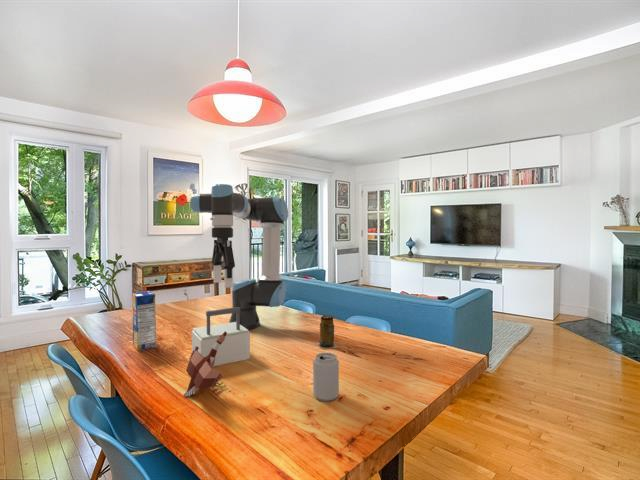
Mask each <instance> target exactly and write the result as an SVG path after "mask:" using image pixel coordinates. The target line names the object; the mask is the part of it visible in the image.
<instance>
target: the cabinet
mask: <svg viewBox="0 0 640 480" xmlns="http://www.w3.org/2000/svg"><path fill="white" fill-rule="evenodd" d="M218 338H219V337H218ZM218 338H212V339H206V340H202V339H201V338H200V337H199V336H198V335H197V334H196V333H195V332H194V331H193V330H191V353H193V351H195V350H194V348H195V347H196V346H197V347H199V349H198V352H199V353H200V354H201V355H202V356H203V357H206V356H208V355H209V353H210V351H211V349H212V347H213V346H214V344H215V343H216V341H217V339H218ZM250 359H251V332H250V331H249V332H248V333H242V334H236V335H230V336H225V340H224V341H223V343H222V344H221V345H220V346H219V348H218V350H217V353H216V356H215V364H214V367H215V366H221V365H225V364H231V363H236V362H241V361H245V360H250Z"/></svg>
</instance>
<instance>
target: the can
mask: <svg viewBox="0 0 640 480" xmlns="http://www.w3.org/2000/svg"><path fill="white" fill-rule="evenodd" d="M337 357H338V356H337V354H335V353H332V352H321V353H320V352H319V353H317V354H315V358H314V359H313V362H312V364H313V365H312V367H313V368H312V369H313V370H312V371H313V372H312V375H313V377H312V378H313V379H312V380H313V382H312V386H313V387H312V390H313V391H312V392H313V393H312V394H313V396H314V397H315V398H316V399H317V400H319V401H322V402H331V401H333V400H335V399H336V398H338V396H339V394H340V391H339V389H340V386H339V385H340V384H339V383H340V379H339V378H340V376H339V375H340V372H339V371H340V364H339V362H340V361H339V360H338V358H337Z"/></svg>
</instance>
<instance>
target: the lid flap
mask: <svg viewBox="0 0 640 480" xmlns="http://www.w3.org/2000/svg"><path fill="white" fill-rule="evenodd" d="M232 313H236V322H232V323H229V322H225V323H219V324H214V325H213V324H212V325H211V317H214V316H221V315H223V316H224V315H228V314H232ZM205 316H206V326H198V327H193V328H192V331H194V332H195V333H196V334H197V335H198V336H199V337H200V338H201V339H202V340H206V339H212V338H218V337H219V336H221V335H222V334H223V333H224V332H227V334H226V336H230V335H236V334H242V333H248V332H250V331H249V330H250V329H246V328H245V327H243V326H242V325H240V307H235V308H233V307H228V308H220V309H211V310H206V311H205Z"/></svg>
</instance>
